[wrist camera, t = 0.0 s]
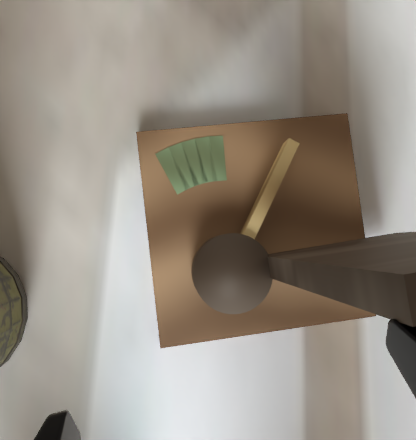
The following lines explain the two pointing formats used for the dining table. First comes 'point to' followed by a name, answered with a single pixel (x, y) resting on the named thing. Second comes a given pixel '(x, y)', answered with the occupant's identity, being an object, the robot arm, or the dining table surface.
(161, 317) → the dial plate
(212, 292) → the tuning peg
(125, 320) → the dining table surface
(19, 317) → the moai statue
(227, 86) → the dining table surface
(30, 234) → the dining table surface
